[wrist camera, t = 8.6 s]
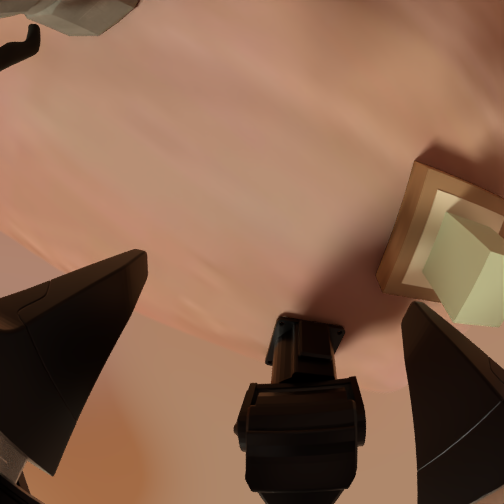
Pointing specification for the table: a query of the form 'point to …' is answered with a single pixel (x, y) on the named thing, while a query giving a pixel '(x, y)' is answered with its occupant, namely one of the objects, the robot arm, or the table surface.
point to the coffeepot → (60, 21)
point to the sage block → (468, 271)
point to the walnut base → (430, 227)
